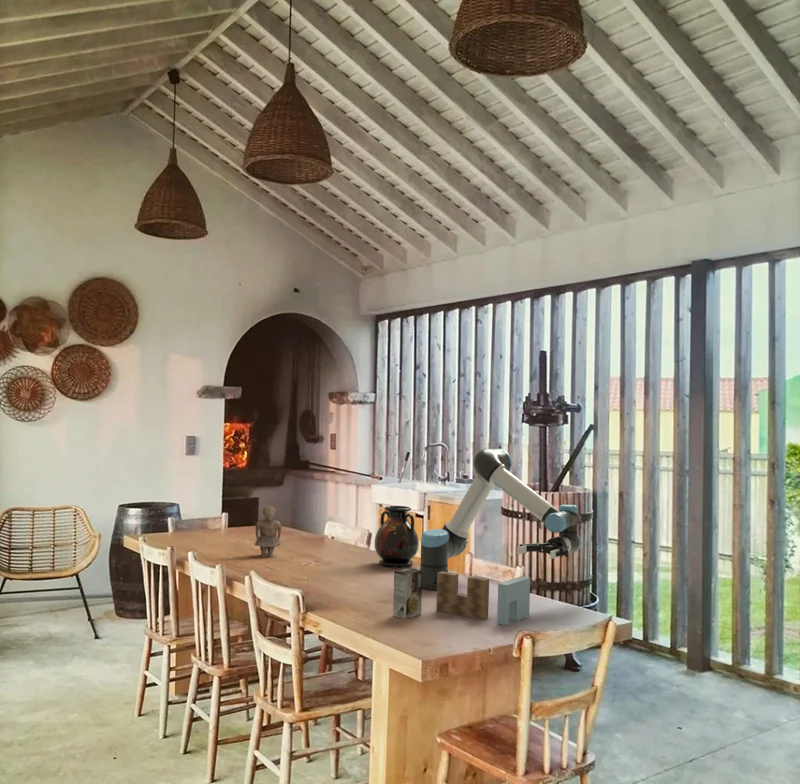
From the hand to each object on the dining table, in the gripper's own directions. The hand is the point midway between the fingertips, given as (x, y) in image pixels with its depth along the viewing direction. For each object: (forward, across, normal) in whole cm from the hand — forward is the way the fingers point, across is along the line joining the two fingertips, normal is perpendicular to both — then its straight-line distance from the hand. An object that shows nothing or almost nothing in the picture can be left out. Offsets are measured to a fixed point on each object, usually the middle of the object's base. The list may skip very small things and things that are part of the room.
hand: (534, 552), depth 297 cm
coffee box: (+36, +32, -22) cm, 53 cm away
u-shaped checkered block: (+21, +18, -22) cm, 35 cm away
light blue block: (+15, 0, -22) cm, 27 cm away
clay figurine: (-13, +152, -21) cm, 154 cm away
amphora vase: (-40, +92, -22) cm, 103 cm away
